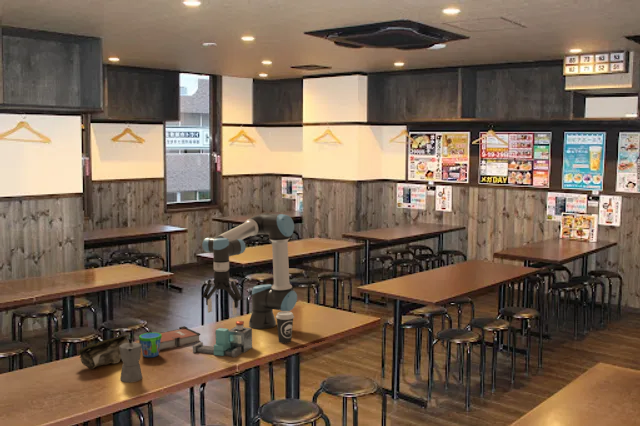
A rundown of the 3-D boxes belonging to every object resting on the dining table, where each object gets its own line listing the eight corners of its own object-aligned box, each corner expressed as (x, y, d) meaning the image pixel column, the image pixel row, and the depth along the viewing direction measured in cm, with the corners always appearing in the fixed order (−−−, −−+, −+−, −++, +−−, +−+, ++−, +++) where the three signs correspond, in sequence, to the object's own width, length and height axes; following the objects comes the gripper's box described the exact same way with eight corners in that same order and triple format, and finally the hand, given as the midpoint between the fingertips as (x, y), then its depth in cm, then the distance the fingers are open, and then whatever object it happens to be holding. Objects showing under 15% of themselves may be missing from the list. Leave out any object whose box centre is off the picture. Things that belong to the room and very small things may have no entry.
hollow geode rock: (80, 382, 292) (92, 363, 285) (68, 359, 297) (79, 340, 289) (132, 364, 314) (145, 346, 307) (120, 343, 319) (132, 325, 311)
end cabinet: (236, 345, 331) (235, 326, 330) (252, 347, 328) (251, 328, 327) (227, 351, 323) (227, 331, 322) (243, 352, 320) (243, 333, 319)
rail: (200, 348, 327) (199, 342, 327) (241, 353, 319) (241, 346, 319) (192, 352, 320) (192, 346, 320) (234, 357, 313) (234, 351, 312)
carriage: (221, 350, 323) (221, 326, 322) (230, 351, 322) (230, 327, 320) (213, 354, 316) (213, 331, 315) (223, 356, 314) (222, 332, 313)
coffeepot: (141, 383, 278) (140, 342, 276) (118, 385, 276) (117, 343, 274) (143, 371, 293) (142, 332, 291) (121, 373, 291) (120, 333, 289)
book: (154, 352, 321) (154, 342, 321) (139, 344, 334) (139, 335, 334) (201, 342, 338) (201, 333, 338) (184, 335, 351) (184, 326, 351)
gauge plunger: (238, 332, 327) (238, 320, 327) (245, 333, 326) (245, 321, 325) (234, 335, 324) (234, 322, 323) (241, 335, 322) (241, 323, 322)
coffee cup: (295, 339, 343) (295, 311, 342) (292, 344, 334) (292, 315, 332) (277, 338, 344) (277, 310, 343) (274, 343, 335) (274, 315, 333)
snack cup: (138, 352, 321) (137, 331, 320) (160, 349, 324) (159, 329, 323) (140, 361, 306) (140, 340, 305) (163, 359, 310) (163, 338, 309)
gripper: (194, 269, 315) (195, 312, 318) (241, 273, 307) (241, 317, 309) (202, 267, 322) (203, 309, 325) (248, 270, 314) (248, 313, 316)
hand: (222, 313), depth 317 cm, fingers open, 13 cm apart
